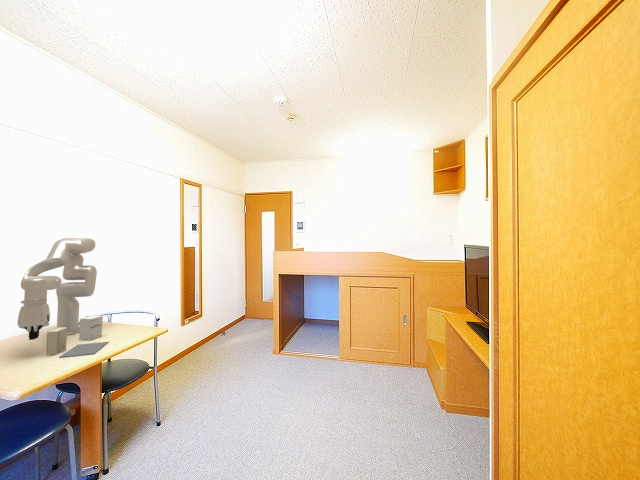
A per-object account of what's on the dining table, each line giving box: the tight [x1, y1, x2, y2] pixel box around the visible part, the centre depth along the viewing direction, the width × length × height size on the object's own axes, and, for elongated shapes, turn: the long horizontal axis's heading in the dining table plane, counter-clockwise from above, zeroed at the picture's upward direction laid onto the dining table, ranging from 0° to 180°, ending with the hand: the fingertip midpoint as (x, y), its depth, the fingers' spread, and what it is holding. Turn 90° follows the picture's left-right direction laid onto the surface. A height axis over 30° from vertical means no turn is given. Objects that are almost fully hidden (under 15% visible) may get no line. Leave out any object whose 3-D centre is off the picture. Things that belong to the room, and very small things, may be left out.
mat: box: [58, 341, 110, 359], centre depth 130 cm, size 16×14×1 cm
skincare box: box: [45, 327, 68, 356], centre depth 126 cm, size 6×4×12 cm
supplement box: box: [78, 314, 103, 342], centre depth 146 cm, size 7×7×13 cm
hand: (33, 338), depth 123 cm, fingers closed
